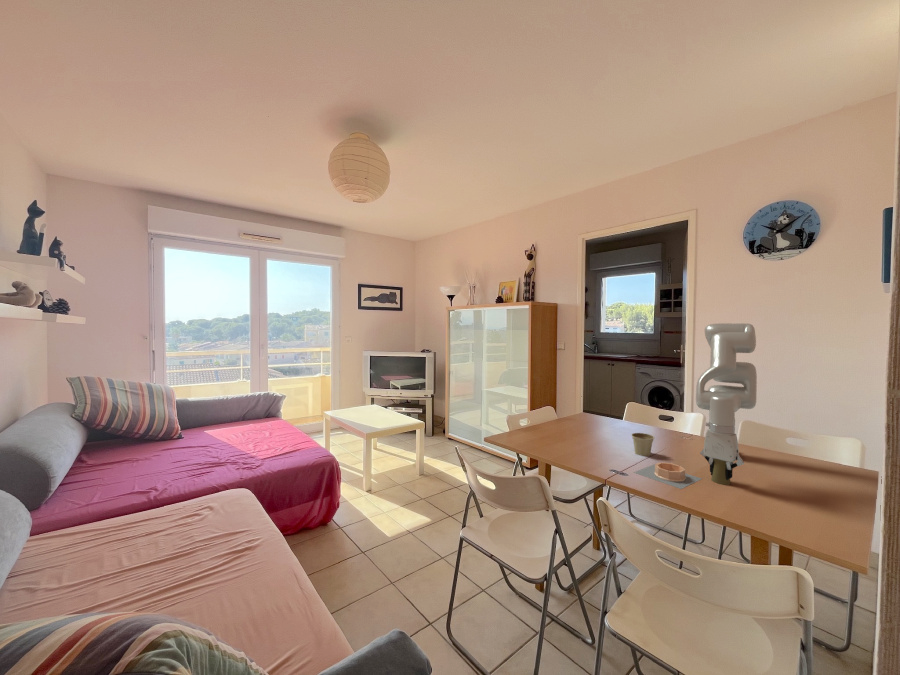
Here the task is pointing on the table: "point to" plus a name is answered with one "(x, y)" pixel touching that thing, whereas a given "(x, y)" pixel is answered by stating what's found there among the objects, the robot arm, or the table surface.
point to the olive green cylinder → (720, 472)
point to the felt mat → (650, 473)
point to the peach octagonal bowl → (670, 472)
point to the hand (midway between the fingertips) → (720, 476)
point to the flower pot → (642, 443)
